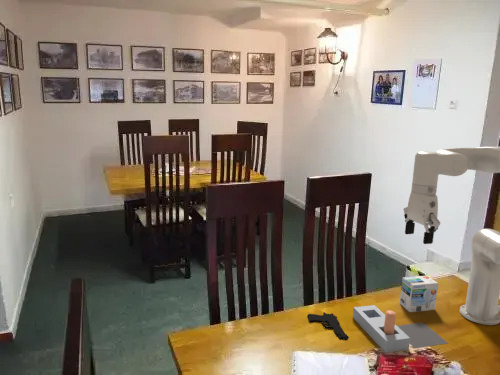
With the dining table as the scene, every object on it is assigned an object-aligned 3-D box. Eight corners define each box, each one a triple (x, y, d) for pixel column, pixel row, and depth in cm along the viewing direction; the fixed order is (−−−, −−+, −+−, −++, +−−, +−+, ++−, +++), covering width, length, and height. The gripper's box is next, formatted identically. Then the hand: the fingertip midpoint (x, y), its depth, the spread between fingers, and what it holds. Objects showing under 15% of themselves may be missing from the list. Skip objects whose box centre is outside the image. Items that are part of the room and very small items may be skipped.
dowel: (389, 338, 124) (392, 309, 121) (394, 344, 121) (398, 314, 119) (380, 339, 123) (383, 310, 121) (386, 345, 120) (389, 315, 118)
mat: (422, 323, 133) (423, 322, 133) (448, 344, 121) (448, 343, 121) (391, 327, 130) (391, 326, 130) (414, 349, 118) (414, 348, 118)
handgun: (306, 313, 136) (333, 311, 138) (305, 316, 137) (333, 314, 138) (318, 339, 121) (349, 337, 123) (318, 342, 122) (349, 341, 123)
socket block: (373, 315, 137) (374, 305, 136) (408, 349, 118) (410, 338, 117) (352, 317, 135) (353, 307, 134) (385, 353, 116) (386, 341, 115)
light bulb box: (409, 313, 139) (412, 285, 137) (398, 303, 145) (401, 277, 143) (435, 310, 141) (439, 282, 139) (424, 301, 148) (427, 274, 145)
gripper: (452, 194, 121) (445, 246, 125) (417, 183, 138) (411, 229, 141) (431, 195, 119) (425, 248, 123) (398, 184, 136) (393, 231, 139)
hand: (418, 238), depth 132 cm, fingers open, 9 cm apart
